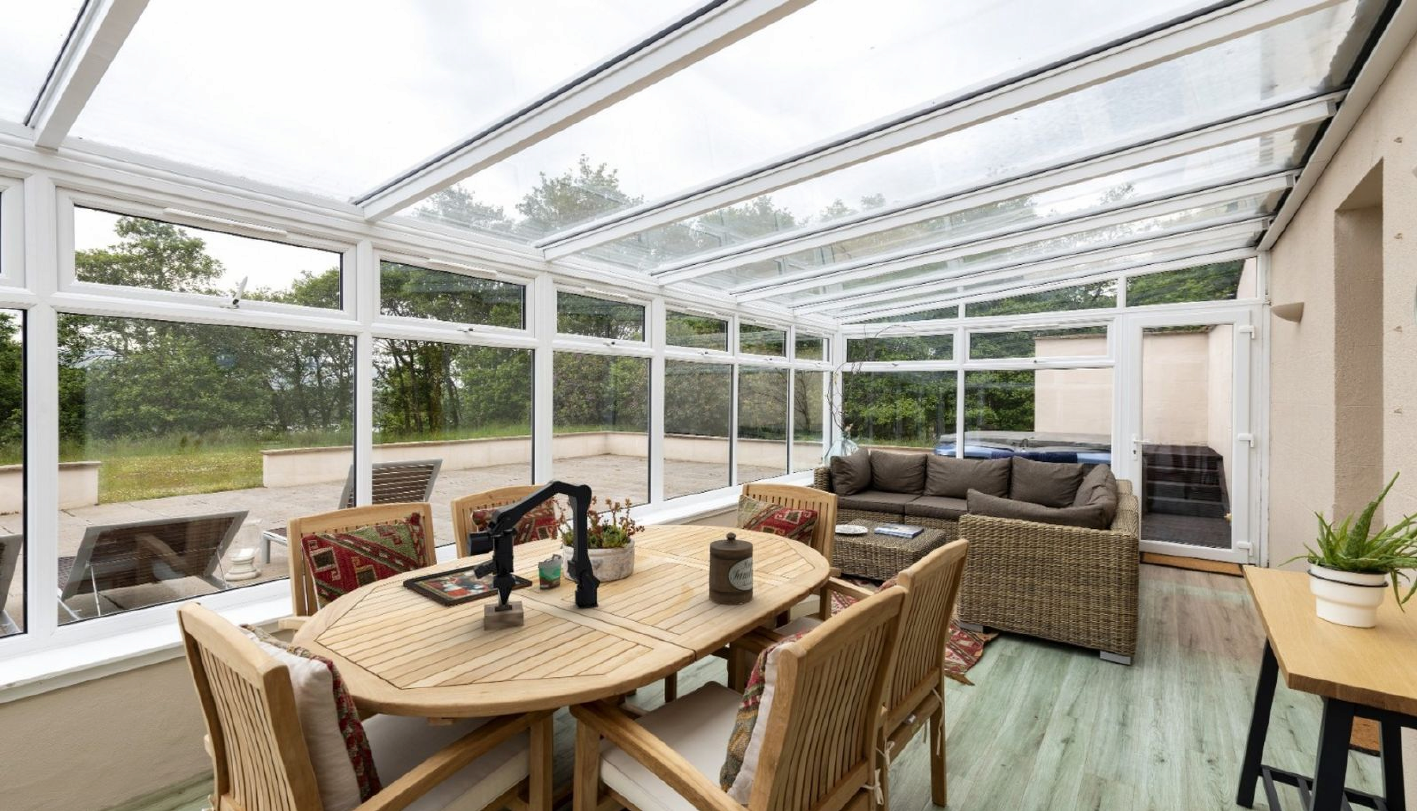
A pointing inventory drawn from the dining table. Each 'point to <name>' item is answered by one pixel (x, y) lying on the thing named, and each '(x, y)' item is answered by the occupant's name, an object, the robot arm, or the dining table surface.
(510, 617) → the square hollow frame
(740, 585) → the wooden container
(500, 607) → the cylinder
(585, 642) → the dining table surface
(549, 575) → the food container
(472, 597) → the framed icon painting
